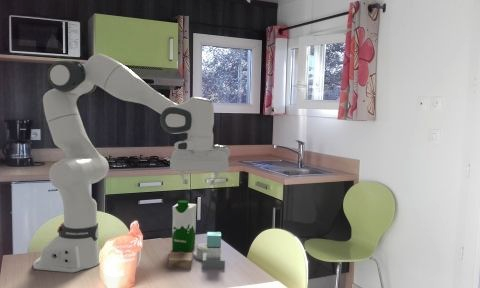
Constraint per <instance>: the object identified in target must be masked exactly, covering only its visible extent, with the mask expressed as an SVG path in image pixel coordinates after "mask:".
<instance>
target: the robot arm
mask: <svg viewBox="0 0 480 288" xmlns="http://www.w3.org/2000/svg"><path fill="white" fill-rule="evenodd" d="M47 80H48V82H49V84H50V86H51V87H52V89H50V90H48V91H47V92H45V93H44V95H43V96H42V104H43V110H44V115H45V119H46V122H47V125H48V129H49V132H50V135H51V138H52V141H53V143H54V145H55V146H56V147H58V148H59V149H60V150H62V152H64V154H65V156H66V157H64V158H61V159H59V160H58V161H56V162H55V163H53V164H52V165H51V167H50V169H49V172H48V178H49V181H50V183H51V185H52V186H53V187H54V188H56V189H57V190H58V192H59V194H60V196H61V200H62V203H63V222H62V223H61V224H60V225H59V226H58V228H57V231H56V233H58V235H57V236H55V237H54V238H53V239H51V240H49V242H48V243H46V244H45V245H44V246H43V248H42V249H41V252H40V254H41V255H40V256H39V257H38V258H36V260H35V261H34V262H33V269H34V270H40V271H52V272H61V273H76V272H79V271H82V270H87V269H91V268H94V267H96V266H98V265H99V264H100V263H99V254H100V248H99V244H98V242H99V241H98V239H99V223H98V203H97V201H96V199H94V198H93V197H92V195H91V192H90V188H89V187H90V185H93V184H95V183H98V182H100V181H102V180H103V179H104V178H106V177H107V175H108V173H109V170H110V166H109V165H110V164H109V161H108V160H107V158H106V157H104V155H102V154H101V153H99V152H98V151H97V149H96V148H95V146H94V145H93V143H92V142H91V140H90V138H89V136H88V134H87V132H86V128H85V126H84V124H83V121H82V118H81V115H80V112H79V108H78V105H77V101H78V100H83V99H84V98H85V97H86V96H88V95H90V94H91V93H92V92H94V91H95V90H96V89H97V87H99V88H101V89H102V90H104V91H105V92H107V93H108V94H109V95H111V96H113V97H115V98H117V99H119V100H121V101H125V102H129V103H130V102H131V103H136V104H141V105H144V106H147V107H148V108H150V109H152V110H153V111H154V112H156V113H158V114H159V115H160V118H159V121H160V122H159V123H160V125H161V128H162V129H163V130H164V131H165V132H166V133H168V134H173V135H178V134H187V139H183V140H180V141H177V142H175V143H174V145H173V146H174V150H173V151H172V153H171V156H170V157H171V158H170V161H169V162H170V163H169V168H170V170H171V171H173V172H175V171H176V172H179V174H180V176H181V178H182V179H183V181H182V182H183V183H182V184H183V185H188V182H189V180H188V177H186V176H185V174H186V173H185V172H204V173H205V172H206V173H207V172H209V173H213V175H214V176H213V178H210V185H211V186H213V185H215V184H216V180H217V178H218V176H219V173H227V172H229V170H230V168H229V167H230V165H229V158H230V157H231V149H230V147H228V146H227V145H224V144H222V145H220V144H214V132H213V128H214V124H215V112H214V110H215V109H214V104H213V102H212V101H211V100H209V99H208V98H204V97H201V96H200V97H199V96H192V97H189V98H188V99H187V100H186V101H184V102H181V103H177V102H174V101H173V100H171V99H170V98H168V97H166V96H165V95H164V94H161V93H160V92H158V91H157V90H155V89H154V88H152V87H151V86H150V85H149V84H148V83H146V82H145V81H144V80H143V79H142V78H140V76H139V75H137V74H136V73H135V72H134V71H132V70H131V69H130V68H128V67H127V66H126V65H124V64H122V63H121V62H119V61H118V60H116V59H114V58H112V57H110V56H108V55H106V54H104V53H95V54H93V55H92V56H90V57H89V58H88V60H87V61H86V62H85V63H82V62H81V61H79V60H76V61H75V60H59V61H55V62H54V63H52V64H51V65H50V67H49V68H48V70H47Z"/></svg>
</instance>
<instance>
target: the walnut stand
mask: <svg viewBox="0 0 480 288" xmlns="http://www.w3.org/2000/svg"><path fill="white" fill-rule="evenodd" d="M192 265H193V252H190V251H189V252H183V251H178V252H177V251H175V252H173V251H171V252H170V255H169V258H168V269H192Z"/></svg>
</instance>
